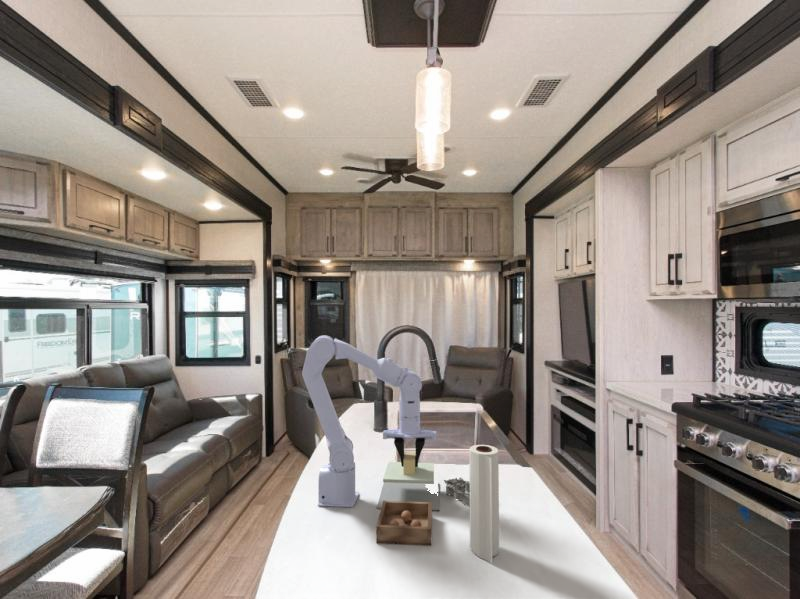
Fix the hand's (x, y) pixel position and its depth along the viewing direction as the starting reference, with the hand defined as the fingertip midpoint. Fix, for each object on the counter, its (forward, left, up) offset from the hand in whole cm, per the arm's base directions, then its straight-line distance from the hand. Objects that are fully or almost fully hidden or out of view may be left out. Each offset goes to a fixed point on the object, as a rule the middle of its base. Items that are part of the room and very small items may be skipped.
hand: (409, 465), depth 111 cm
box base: (0, -17, -8) cm, 19 cm away
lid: (0, -1, -2) cm, 2 cm away
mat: (0, 0, -8) cm, 8 cm away
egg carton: (+15, +1, -9) cm, 17 cm away
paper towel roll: (+17, -24, -8) cm, 31 cm away
